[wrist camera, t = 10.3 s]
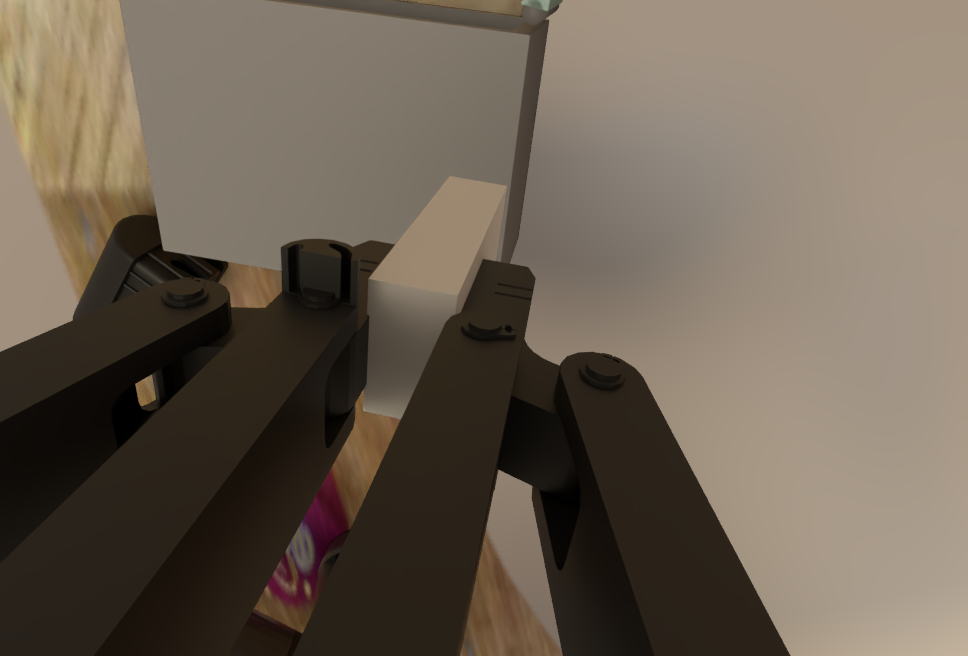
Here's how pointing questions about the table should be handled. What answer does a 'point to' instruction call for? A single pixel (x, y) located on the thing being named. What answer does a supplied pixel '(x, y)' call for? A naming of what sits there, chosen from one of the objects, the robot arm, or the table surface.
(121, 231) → the end cap
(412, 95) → the cabinet
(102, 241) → the table surface
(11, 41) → the table surface
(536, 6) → the pale green rectangular block
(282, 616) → the table surface
